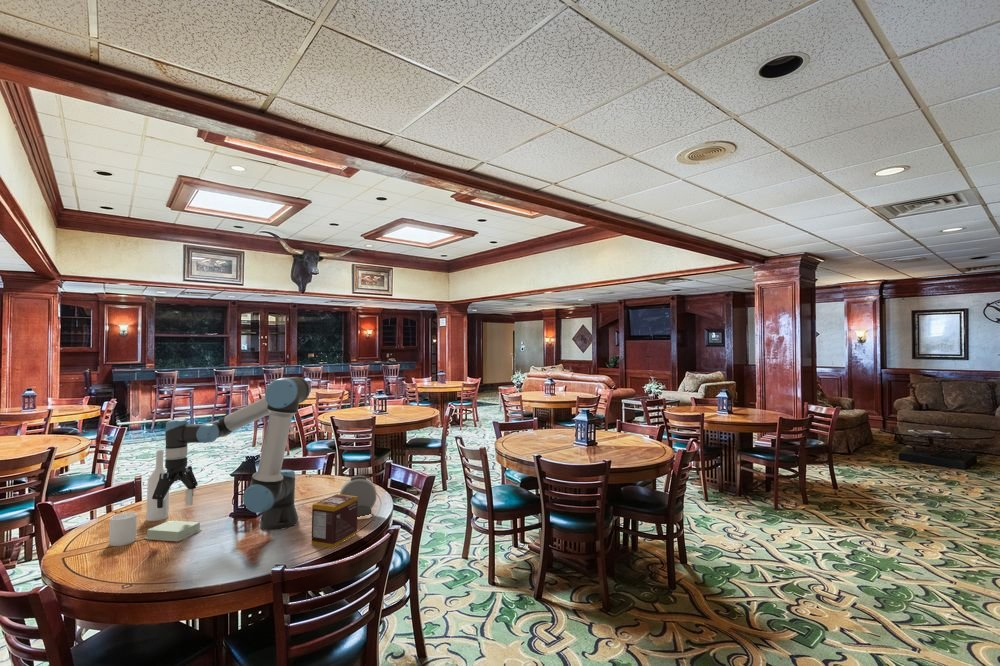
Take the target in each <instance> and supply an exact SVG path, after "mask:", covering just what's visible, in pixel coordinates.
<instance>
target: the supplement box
mask: <svg viewBox="0 0 1000 666" xmlns="http://www.w3.org/2000/svg"><path fill="white" fill-rule="evenodd" d="M311 506H312V507H311V508H312V509H311V545H312V546H318V547H324V548H329V547H330V548H329V549H334V548H336V547H338V546H339V545H338V544H340V543H341V542H343V541H344V540H346V539H348V538H349V537H351V536H353V535H354V534H356V533H357V534H358V520H357V507H358V496H350V495H342V494H340V493H336V494H334V495H332V496H329V497H327V498H324V499H322V500H319V501H317V502H314V503H313V504H312V505H311ZM353 537H354V536H353ZM348 540H349V539H348ZM343 543H344V542H343ZM341 544H342V543H341ZM341 544H340V545H341ZM337 545H338V546H337ZM335 546H336V547H335ZM333 547H334V548H333Z"/></svg>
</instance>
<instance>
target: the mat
mask: <svg viewBox="0 0 1000 666" xmlns="http://www.w3.org/2000/svg"><path fill="white" fill-rule="evenodd" d="M200 531H202V529H201V528H200V530H198V531H196V532H194V533H191V534H189V535H187V536H185V537H183V538H181V539H179V540H176V539H162V538H148V537H147V536H145V537H144V540H154V541H155V540H156V541H166V542H167V541H169V542H179V541H182V540H183V539H185V538H188V537H190V536H192V535H194V534H197V533H198V532H200Z"/></svg>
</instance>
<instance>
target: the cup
mask: <svg viewBox="0 0 1000 666" xmlns="http://www.w3.org/2000/svg"><path fill="white" fill-rule="evenodd" d="M137 521H138V513H136V512H124V513H123V512H122V513H119V514H115V515H112V516H111V517H109V531H108V533H109V535H108V536H109V537H108V545H109V546H111V547H121V546H126V545H130V544H132V543H134V542H135V541H136V539H137V525H138V523H137Z"/></svg>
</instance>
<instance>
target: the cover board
mask: <svg viewBox="0 0 1000 666" xmlns="http://www.w3.org/2000/svg"><path fill="white" fill-rule="evenodd" d="M200 529H201V522H200V521H199V522H197V521H185V520H169V521H165V522H163V523H160V524H158V525H156V526H153V527H150V528H148V529H147V531H146V537H148V538H162V539H176V540H179V539H181V538H183V537H185V536H187V535H189V534H191V533H194V532H196V531H198V530H200Z"/></svg>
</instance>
